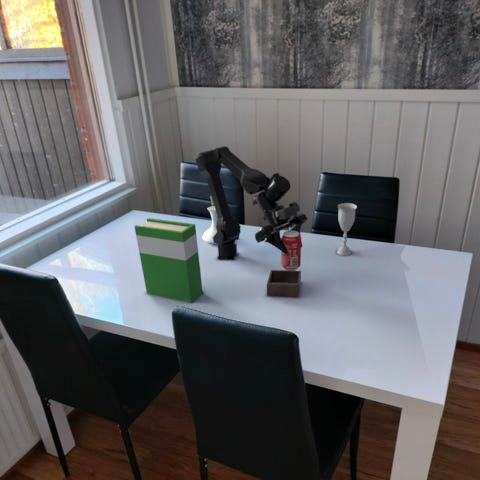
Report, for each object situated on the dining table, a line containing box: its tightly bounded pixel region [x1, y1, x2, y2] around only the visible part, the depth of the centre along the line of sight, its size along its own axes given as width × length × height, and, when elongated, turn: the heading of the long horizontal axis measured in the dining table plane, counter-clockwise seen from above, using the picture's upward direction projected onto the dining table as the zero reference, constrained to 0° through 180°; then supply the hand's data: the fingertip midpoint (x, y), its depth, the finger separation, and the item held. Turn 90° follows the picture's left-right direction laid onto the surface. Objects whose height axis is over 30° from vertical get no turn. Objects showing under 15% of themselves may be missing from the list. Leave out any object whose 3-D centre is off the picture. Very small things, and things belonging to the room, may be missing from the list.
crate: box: [266, 269, 302, 298], centre depth 154 cm, size 10×10×4 cm
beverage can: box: [280, 230, 302, 271], centre depth 151 cm, size 6×6×12 cm
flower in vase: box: [201, 195, 218, 244], centre depth 188 cm, size 13×11×25 cm
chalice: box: [337, 202, 358, 256], centre depth 172 cm, size 7×7×18 cm
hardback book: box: [134, 217, 204, 304], centre depth 151 cm, size 18×7×24 cm, turn 64°
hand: (294, 250), depth 149 cm, fingers closed on beverage can, 6 cm apart
